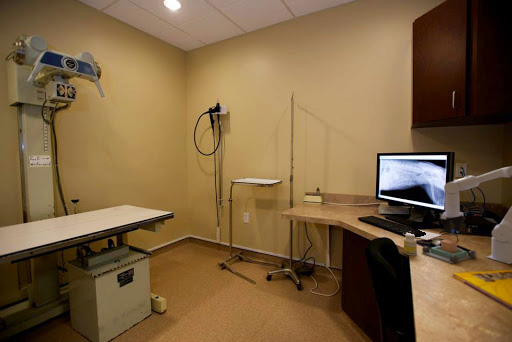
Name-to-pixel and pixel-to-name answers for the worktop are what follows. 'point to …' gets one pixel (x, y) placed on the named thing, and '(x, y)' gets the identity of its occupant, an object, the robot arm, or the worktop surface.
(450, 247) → the block
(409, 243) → the supplement bottle
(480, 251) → the worktop surface
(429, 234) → the paper stack
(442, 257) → the chassis
